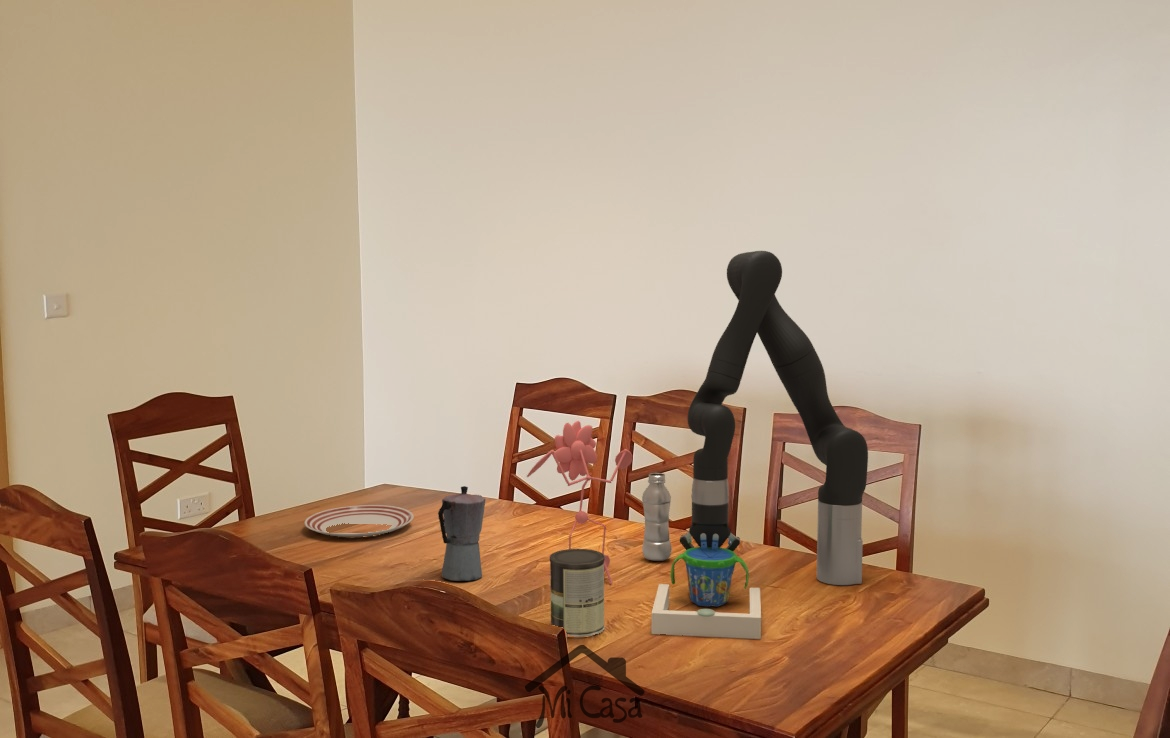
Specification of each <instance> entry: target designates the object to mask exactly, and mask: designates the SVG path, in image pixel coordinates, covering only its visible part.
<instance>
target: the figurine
mask: <svg viewBox="0 0 1170 738" xmlns="http://www.w3.org/2000/svg"><path fill="white" fill-rule="evenodd" d="M593 430H594V429H593V426H592V425H590V424H588V425H583V427H582V424H581V421H580V420H576V421H574V423H572V425H571V424H570V423H569V422H565V424H564V426H563V429H562V435H559V434H556V435H555V436H554V445H555V448H556V450H554V449H551V450H550V451H548V452H547V453H546V454H545V455H543V456H542V457H541V458H540V459H539V460H537V462H536V463H535V464H534V465H533V467H532V468H531V469H530V470H529V472H528V474H527V475H526V477H527V478H529V477H530V476H531V475H533V474H534V473H535V472H537V471H538V470H539V469H540V468H541V467H542V466H543V465H545V463H546V462H547V461H548V460H549V458H550V457H551V456H552V457H553V458H554V461H555V463H556V465H557V467H556V472H557V474H561V475H562V477H563V479H564V480H565V483H566V484H567V486H568V487H570V486H573V485H575V484H578V483H580V482H584V483H583V484H582V486H581V493H580V499H579V500H580V501H579V502H580V503H579V509H578V510H579V511H577V512H576V514H575V515H574V518H575V519H574V520H575V521H574V523H573V526H572V529H571V530H570V532H569V535H568V549H572V548H571V546H572V545H571V544H572V537H571V536H572V534H573V532H574V530H575V527H576V525H577V523H578V524H580V525H583V524H586V523H587V522H588V521H589V522H591V523H594V524H597V525H599V526H602V527H603V535H602V536H603V537H602V550H601V553H602V554H604V556H605V560H604V573H605V572H606V575H607V579H608V582H609V584H610V585H613V584H614V583H613V580H612V577H611V575H610V571H609V565H610V562H611V558H610V557H609V555H608V554H605V544H606V543H605V542H606V529H607V527H606V525H605V524H604V523H601V522H598V521H595V520H593V519H591V518H589V515H588V513H587V512H586V511H584V510H582V507H583V501H584V495H585V487H586V485H587V483H588V482H590V481H591V480H594V481H598V482H602V483H603V482H604V483H609V484H612V482H614V479H615V477H616V474H617V473H618V471H619V470H621V471H624V470H625V469H626V468H628V467H629V466H630V465H632V462H633V454H632V452H631V451H630V450H628V449H627V448H624V449H623V450H621V451H619V452H618V453H617V455H616V456H615V458H614V462H615V466H616V467H615V469H614V472H613V473H612V476H611V477H610V479H609V480H608V479H603V478H599V477H593V476H591V475H590V473H589V470H588V465H589V464H592V465H593V464H596V463H597V462H598V456H597V452H596V451H595V447H596V446H597V441H595V439H593V437H592V435H593ZM565 473H568V477H569V479H570V480H571V482H569V479H568V478H567V476H566V474H565ZM579 476H580V477H583V478H579V479H577V478H578V477H579ZM584 476H585V477H584ZM576 479H577V480H576ZM544 577H545V578H547V577H551V576H550V574H547V575H545V576H544ZM544 577H541V578H539V579H537V580H535V581H534V583H533V584H532V586H534V585H535V584H536V583H537V582H538V581H540V580H542V579H545V578H544ZM630 577H631V578H632V579H635V577H633V576H630ZM630 577H629V578H630Z"/></svg>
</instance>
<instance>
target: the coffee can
mask: <svg viewBox="0 0 1170 738" xmlns="http://www.w3.org/2000/svg"><path fill="white" fill-rule="evenodd" d="M604 555H605V553H604V554H602V551H601V552H600V551H598V550H595V549H588V548H571V549H569V548H568V549H562V550H559V551H554V552H552V553H551V554H550V555H549V563H550V565H549V566H550V568H549V569H550V576H549V577H550V578H549V579H550V626H551V625H555V626H558V627H563V628H564V629H565V630H566V633H567V637H566V638H567V639H568V634H569V635H570V636H574V637H584V636H592V635H595V634H598V635H600V634H602V633H603V632H604V631H603V630H605V628H606V627H605V572H604V560H605V556H604ZM601 632H602V633H601ZM599 633H600V634H599ZM592 637H593V636H592Z"/></svg>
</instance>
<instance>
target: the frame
mask: <svg viewBox="0 0 1170 738" xmlns="http://www.w3.org/2000/svg"><path fill="white" fill-rule="evenodd" d="M669 606H670V584H666V583H658V587H657V592H656V594H655V598H654V603H653V607H652V610H651V615H650V616H651V619H650V620H651V629H650V630H651V631H650V632H651V635H660V634H666V635H665V636H682V635H683V636H685V637H705V638H706V637H709V638H710V637H711V638H728V639H729V638H732V639H750V640H761V639H762V637H761V636H762V613H761V612H762V611H761V610H762V609H761V588H760V587H749V611H748V612H749V613H739V612H737V613H736V612H717V611H715V610H713V609H712V608H711V609H710V608H701V609H698V610H696V611H694V610H693V611H692V610H669Z"/></svg>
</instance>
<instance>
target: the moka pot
mask: <svg viewBox="0 0 1170 738" xmlns="http://www.w3.org/2000/svg"><path fill="white" fill-rule="evenodd" d="M468 488H469V487H468V486H466V485H465V486H461V487H460V490H461V491H460V492H461V493H458V494H451V495H446V496H445V497H444V498H442V500H441V502H442V505H441V507H440V508H439V510H438V512H437V514H438V520H439V525H440V531H441V536H442V540H443V541H442V542H443V543H444V544H446V545H445V553H444V558H443V563H442V569H441V577H442V578H443V579H446V580H449V581H456V582H466V581H475V580H479V579H480V578H482V577H483V571H482V562H481V551H480V543H479V542H480V535H481V532H482V529H483V527H482V526H483V522H484V520H483V519H484V513H485V507H486V506H485V505H486V498H485V497H483V496H482V495H480V494H471V493H470V494H469V493H468Z"/></svg>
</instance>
